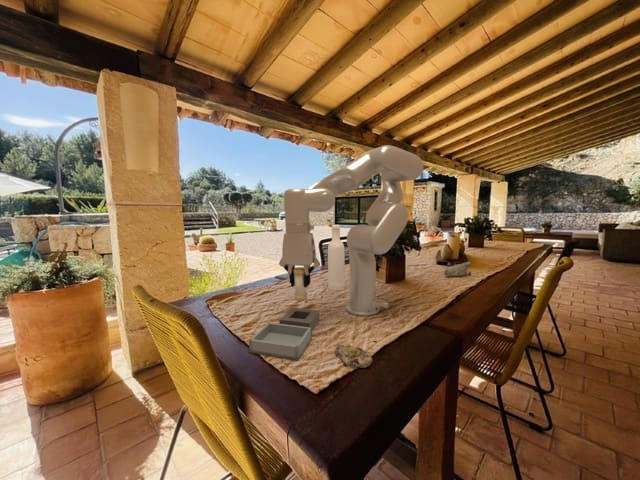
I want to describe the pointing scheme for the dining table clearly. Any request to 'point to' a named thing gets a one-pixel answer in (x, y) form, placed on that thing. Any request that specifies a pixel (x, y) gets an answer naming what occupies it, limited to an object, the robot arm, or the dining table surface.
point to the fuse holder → (301, 317)
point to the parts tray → (281, 340)
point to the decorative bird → (457, 269)
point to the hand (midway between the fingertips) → (300, 285)
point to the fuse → (299, 284)
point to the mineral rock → (353, 356)
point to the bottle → (336, 261)
